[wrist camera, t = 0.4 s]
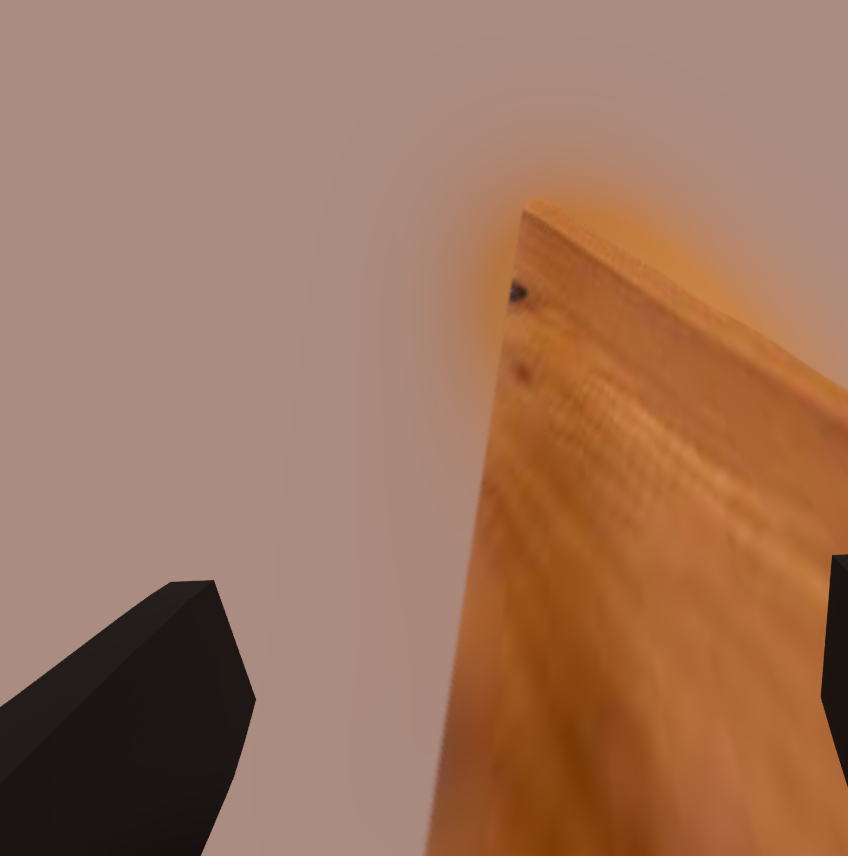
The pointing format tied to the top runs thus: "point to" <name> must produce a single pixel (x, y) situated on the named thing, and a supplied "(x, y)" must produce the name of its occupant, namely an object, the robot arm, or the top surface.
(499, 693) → the top surface
